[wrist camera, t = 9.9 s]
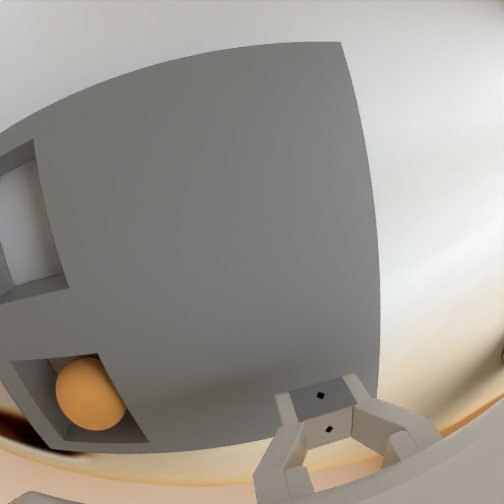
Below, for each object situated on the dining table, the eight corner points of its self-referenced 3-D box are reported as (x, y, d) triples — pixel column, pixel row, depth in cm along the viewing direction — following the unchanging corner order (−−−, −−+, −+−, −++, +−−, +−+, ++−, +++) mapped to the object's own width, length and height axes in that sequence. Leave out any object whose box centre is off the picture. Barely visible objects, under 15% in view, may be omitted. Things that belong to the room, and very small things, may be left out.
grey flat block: (-34, 179, 10) (-67, 184, 7) (315, 65, 11) (340, 42, 9) (63, 419, 15) (50, 448, 12) (355, 374, 16) (375, 404, 13)
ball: (32, 372, 11) (63, 399, 9) (83, 337, 14) (124, 352, 12) (67, 425, 12) (106, 456, 10) (110, 389, 15) (153, 410, 14)
